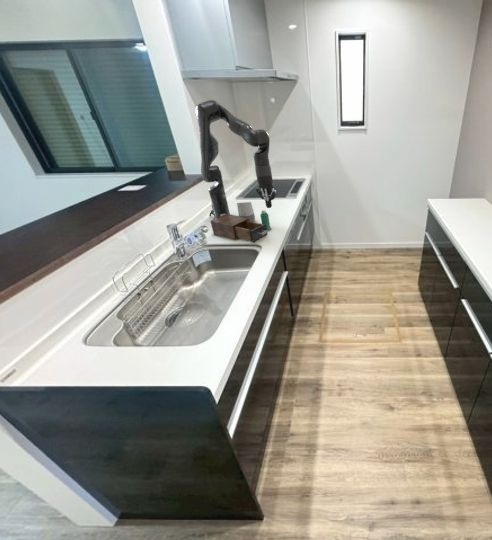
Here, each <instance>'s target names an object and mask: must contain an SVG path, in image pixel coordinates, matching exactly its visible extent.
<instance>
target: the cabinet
mask: <svg viewBox="0 0 492 540" xmlns="http://www.w3.org/2000/svg"><path fill="white" fill-rule="evenodd" d="M245 221H249V218H245V217H240V216H239V215H235V214H232V213H230V214H226V215H223V216H221V217H218V218H216V219H215V218H214V219H211V220H210V224H211V229H212V232H213V235H214V236H217V237H218V236H219V237H221V238H225V239H229V240H234V241H237V240H239V239H240V238H237V237H236V234H235V230H234V226H237V225H239V224H241V223H243V222H245Z"/></svg>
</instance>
